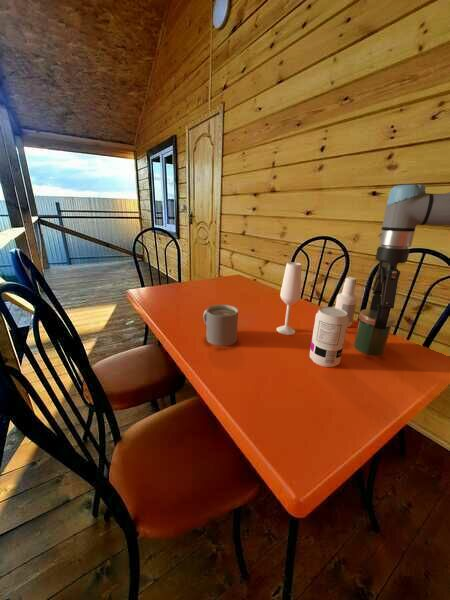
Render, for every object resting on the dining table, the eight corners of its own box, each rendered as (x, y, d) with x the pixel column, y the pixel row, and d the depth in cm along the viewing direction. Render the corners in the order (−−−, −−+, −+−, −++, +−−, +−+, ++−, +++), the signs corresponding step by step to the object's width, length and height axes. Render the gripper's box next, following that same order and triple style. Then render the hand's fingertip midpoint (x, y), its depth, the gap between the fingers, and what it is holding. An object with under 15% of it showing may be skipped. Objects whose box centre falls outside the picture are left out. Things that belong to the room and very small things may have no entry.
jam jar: (381, 345, 82) (389, 315, 79) (386, 358, 75) (395, 325, 71) (352, 339, 85) (359, 310, 81) (354, 352, 78) (362, 320, 74)
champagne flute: (274, 326, 93) (281, 261, 85) (292, 326, 94) (300, 261, 86) (279, 334, 87) (287, 265, 79) (298, 334, 87) (308, 265, 79)
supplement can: (303, 355, 75) (310, 307, 70) (326, 350, 78) (334, 305, 73) (321, 370, 68) (331, 319, 63) (346, 365, 70) (357, 315, 65)
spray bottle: (347, 329, 93) (358, 281, 87) (329, 323, 97) (337, 277, 91) (354, 324, 97) (364, 278, 91) (336, 318, 102) (344, 275, 96)
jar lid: (396, 329, 71) (397, 323, 70) (360, 323, 74) (361, 317, 74) (389, 317, 79) (391, 312, 78) (357, 312, 82) (358, 307, 82)
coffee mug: (242, 341, 82) (244, 312, 78) (216, 349, 76) (217, 318, 73) (220, 325, 92) (221, 299, 89) (196, 331, 87) (195, 304, 84)
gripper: (371, 242, 81) (358, 307, 88) (386, 251, 61) (367, 334, 68) (399, 243, 78) (383, 310, 85) (423, 253, 58) (400, 340, 65)
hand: (376, 321), depth 77 cm, fingers open, 10 cm apart
